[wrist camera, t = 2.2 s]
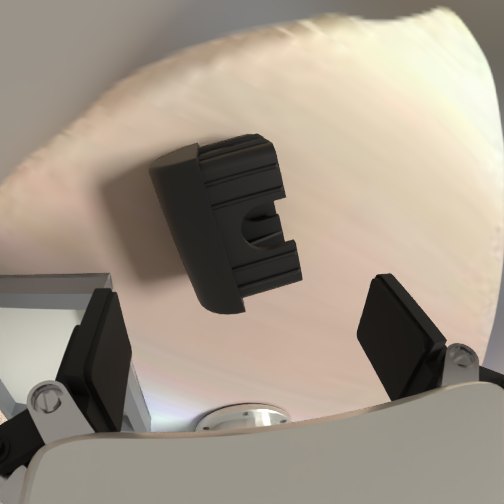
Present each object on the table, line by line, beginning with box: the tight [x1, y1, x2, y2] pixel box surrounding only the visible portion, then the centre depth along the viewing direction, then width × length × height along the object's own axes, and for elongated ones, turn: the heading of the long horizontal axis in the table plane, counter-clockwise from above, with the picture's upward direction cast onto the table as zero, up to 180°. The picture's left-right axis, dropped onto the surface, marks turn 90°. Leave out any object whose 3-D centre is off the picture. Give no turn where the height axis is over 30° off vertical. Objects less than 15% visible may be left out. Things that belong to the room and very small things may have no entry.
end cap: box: [149, 134, 302, 314], centre depth 21 cm, size 10×7×7 cm
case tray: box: [0, 273, 151, 432], centre depth 27 cm, size 21×21×3 cm
